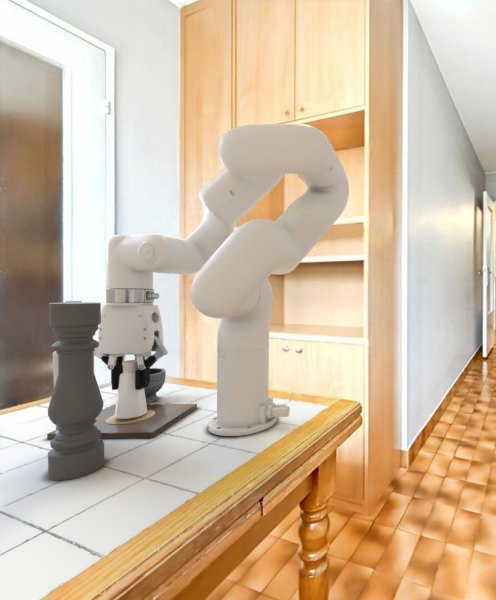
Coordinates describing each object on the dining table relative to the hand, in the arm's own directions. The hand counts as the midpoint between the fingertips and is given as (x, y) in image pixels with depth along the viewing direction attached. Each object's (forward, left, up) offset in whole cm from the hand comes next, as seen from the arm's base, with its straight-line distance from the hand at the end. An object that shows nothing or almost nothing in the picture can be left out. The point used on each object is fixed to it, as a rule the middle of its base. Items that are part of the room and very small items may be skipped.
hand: (130, 387), depth 71 cm
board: (0, 0, -7) cm, 7 cm away
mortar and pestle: (+7, -14, -7) cm, 17 cm away
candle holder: (-5, +19, -7) cm, 21 cm away
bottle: (+1, +12, -7) cm, 14 cm away
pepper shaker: (0, 0, -6) cm, 6 cm away
